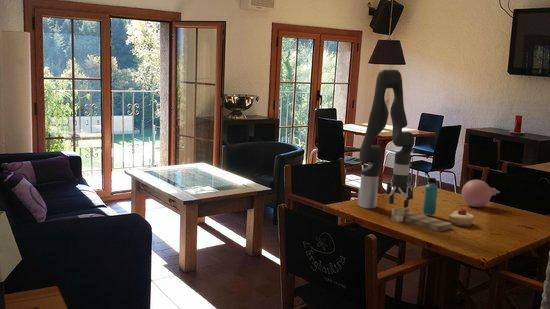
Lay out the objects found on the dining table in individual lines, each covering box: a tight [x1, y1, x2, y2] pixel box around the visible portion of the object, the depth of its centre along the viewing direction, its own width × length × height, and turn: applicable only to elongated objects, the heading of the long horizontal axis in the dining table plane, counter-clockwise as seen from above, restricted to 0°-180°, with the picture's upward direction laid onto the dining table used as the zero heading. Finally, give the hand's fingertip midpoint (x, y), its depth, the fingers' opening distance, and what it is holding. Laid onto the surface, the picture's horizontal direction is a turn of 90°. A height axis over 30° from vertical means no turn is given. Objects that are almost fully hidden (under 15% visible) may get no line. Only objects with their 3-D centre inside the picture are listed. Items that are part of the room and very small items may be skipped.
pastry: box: [448, 206, 475, 228], centre depth 259 cm, size 12×12×9 cm
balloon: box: [461, 179, 501, 208], centre depth 294 cm, size 15×20×15 cm
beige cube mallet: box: [390, 207, 410, 223], centre depth 261 cm, size 4×10×6 cm, turn 129°
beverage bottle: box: [422, 177, 438, 216], centre depth 270 cm, size 6×7×20 cm
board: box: [402, 210, 453, 233], centre depth 258 cm, size 26×10×2 cm, turn 39°
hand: (398, 205), depth 258 cm, fingers open, 8 cm apart
